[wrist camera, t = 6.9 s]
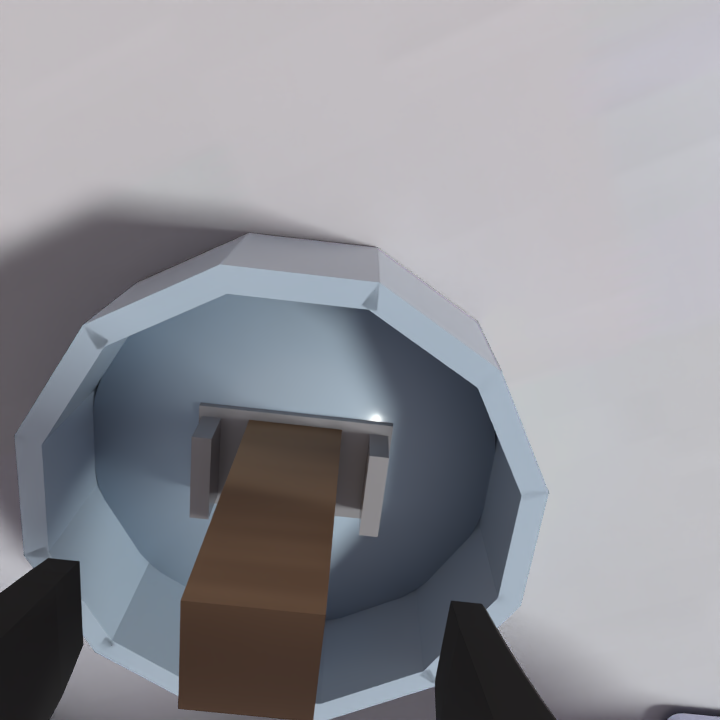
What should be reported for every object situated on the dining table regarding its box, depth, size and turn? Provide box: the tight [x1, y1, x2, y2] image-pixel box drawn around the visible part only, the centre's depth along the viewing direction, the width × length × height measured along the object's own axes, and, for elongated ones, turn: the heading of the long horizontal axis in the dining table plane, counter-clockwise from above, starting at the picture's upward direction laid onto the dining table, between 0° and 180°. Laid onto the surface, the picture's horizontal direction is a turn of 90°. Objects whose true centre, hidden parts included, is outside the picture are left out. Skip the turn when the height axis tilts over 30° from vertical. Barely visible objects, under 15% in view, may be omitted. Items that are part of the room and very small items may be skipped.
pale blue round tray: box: [14, 233, 549, 720], centre depth 18 cm, size 12×12×4 cm
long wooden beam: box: [178, 420, 342, 720], centre depth 15 cm, size 2×2×7 cm
